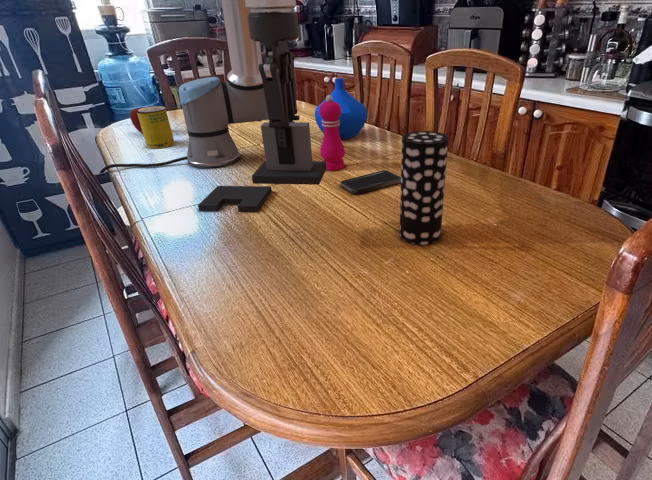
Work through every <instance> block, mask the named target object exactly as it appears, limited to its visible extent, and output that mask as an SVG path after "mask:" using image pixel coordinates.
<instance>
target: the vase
mask: <svg viewBox="0 0 652 480" xmlns="http://www.w3.org/2000/svg"><path fill="white" fill-rule="evenodd" d="M344 83H345V82H344V78H342V77H339V78H338V77H337V78H334V89H333V91H332V92H331V93H330V94H329V95H331V96H332V98H333V99H332V101H334V102H336V103H338V104H339V106H340V108H341V115H340V116H339V118H338V119H339V120H340V121H339V123H340V125H339V126H338V131H339V136H340V139H341V140H348V139H352V138H355V137H356V136H357V135H359V134H360V132H361V131H362V130H363V128H364V127H365V124H366V121H367V118H368V117H367V116H368V111H367V109H366V106H365V105H364V104H363V103H361V102H360V101H359V100H358V99H356V98H355V97H354V96H353V95H351V94H350V93H349V92H348V91H347V90H346V89H345V84H344ZM326 101H327V100H326V98H325V99H324V100H323V101H322V102H321V103H320V104H319V105H317V107H315V110H314V121H315V122H316V123H315V124H317V127H318V129H319V130H320V131H321V132H322V133H323V134H324V127H323V126H322V120H323V119H322V117H321V116H320V114H319V107H320V105H321V104H322V103H323V102H326Z"/></svg>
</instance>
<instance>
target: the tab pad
mask: <svg viewBox="0 0 652 480" xmlns="http://www.w3.org/2000/svg"><path fill="white" fill-rule="evenodd" d="M289 126H291V130H292V139H293V149H294V158H295V164H279V159H278V151H277V143H276V135H275V128H269V121H268V122H267V121H266V122H265V121H264V122H263V123H262V124H260V132H261V138H262V144H263V151H264V158H265V160H264V161H263V162H262V163H261V164H260V166H258V167H257V169H256V170H255V171H254V172H253V174H252V175H251V181H252V184H254V185H257V184H258V185H306V186H307V185H312V186H313V185H314V186H315V185H316V186H317V185H318V186H319V185H320V184H321V182H322V180H323V177H324V175H325V173H326V171H327V170H326V161H323V160H322V161H321V160H319V161H318V160H316V161H315V160H313V152H312V140H311V128H310V122H308V121H307V122H301V121H300V122H296V121H293V122H289Z"/></svg>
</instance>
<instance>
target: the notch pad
mask: <svg viewBox="0 0 652 480" xmlns="http://www.w3.org/2000/svg"><path fill="white" fill-rule="evenodd" d="M272 190H273V189H272V186H270V185H269V186H267V185H266V186H265V185H263V186H260V185H250V186H249V185H217V186H216V187H215V188H214V189H213V190H212V191H211V192H210V193H209V194H207V196H205V198H204V199H203V200H201V201H200V203H198V204H197V209H198V211H199V212H218V211H220V209H222V208H223V206H224V205H237V210H238V212H239V213H258V212H259V210H260V209H261V208H262V206H264V203H265V202H266V201H267V199H268V198H269V196H270V195H271V194H272V192H273V191H272Z"/></svg>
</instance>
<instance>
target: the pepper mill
mask: <svg viewBox="0 0 652 480" xmlns="http://www.w3.org/2000/svg"><path fill="white" fill-rule="evenodd" d="M325 99H326V100H327V101H326V102H323V101H322V102H323V103H322V102H321V103H322V104H321V103H320V104H321V105H320V104H319V105H320V107H319V114H320V116H321V117H322V119H323V120H322V126H323V127H324V133H323V139H322V142H321V144H320V148H319V155H320V157H321V158H322V161H326V171H330V172H331V171H339V170H342V169H343V168H344V167H345V161H344V157H345V155H346V149H345V145H344V143H343V141H342V139H340V136H339V131H338V126H339V125H340V123H339V121H340V120H339V119H338V118H339V116H340V115H341V108H340V106H339V104H338V103H336V102H334V101H332V99H333V98H332V96H331V95H330V94H327V95H326V96H325Z"/></svg>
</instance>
